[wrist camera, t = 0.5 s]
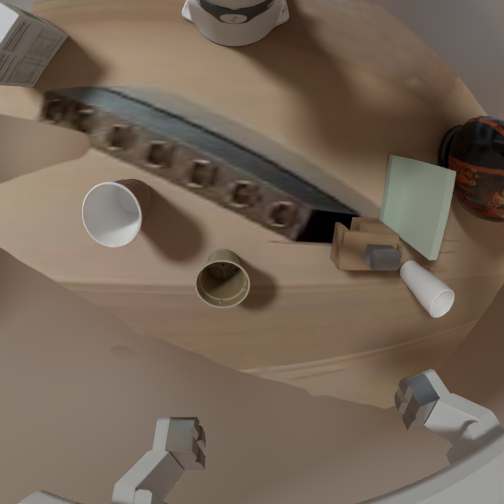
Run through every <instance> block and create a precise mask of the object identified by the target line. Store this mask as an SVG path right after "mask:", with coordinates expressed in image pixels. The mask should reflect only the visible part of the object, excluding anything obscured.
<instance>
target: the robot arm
mask: <svg viewBox="0 0 504 504" xmlns="http://www.w3.org/2000/svg"><path fill="white" fill-rule="evenodd" d="M188 8H189V9H188ZM282 10H283V12H282ZM182 17H183V18H184V19H186V20H187V21H189V22H191V23H193V24H194V25H195V26H196V27H197V28H198V30H199V31H200V32H201V33H202V34H203V35H204V36H205V37H206V38H207V39H209V40H211V41H213V42H215V43H218V44H221V45H226V46H243V45H248V44H251V43H254V42H256V41H258V40H260V39H262V38H263V37H265V36H266V35H267V34H268V33H269V32H270V31H271V30H272V29H273V28H274V27H275V26H278V25H280V24H283V23H285V22H287V21H288V19H289V11H288V6H287V2H286V0H186V2H185V5H184V7H183V10H182ZM399 387H400V388H399V389H398V390H397V391H396V393H395V405H396V408H397V410H398V411H399V412H400V413H402V414H403V417H402V420H403V422H404V424H405V426H406V428H407V430H410V429H413V428H416V427H418V426H421V425H423V424H424V425H425V426H427V427H428V428H429V429H431V430H432V431H434V432H435V433H437V434H438V435H440V436H441V437H443V438H444V439H446V440H447V441H449V442H450V443H452V444H453V446H452V447H451V448H450V450H449V451H448V452H447V455H446V456H447V458H448V460H449V462H450V464H451V465H449V466H447V467H446V468H444V469H442V470H440V471H438V472H436V473H434V474H432V475H429V476H427V477H425V478H423V479H421V480H419V481H417V482H414V483H412V484H410V485H407V486H405V487H402V488H400V489H398V490H395V491H392V492H389V493H387V494H384V495H381V496H378V497H375V498H372V499H369V500H366V501H363V502H360V503H356V504H504V429H503V428H502V426H501V425H500V423H499V421H498V420H497V418H496V417H495V415H494V414H493V412H492V411H491V410H489V409H486V408H484V407H482V406H480V405H477V404H475V403H473V402H471V401H469V400H467V399H464V398H462V397H460V396H458V395H456V394H454V393H452V394H450V393H449V391H448V390H447V388H446V387H445V385H444V384H443V383H442V381H441V380H440V378H439V377H438V375H437V374H436V372H435V371H434V370H433V369H429V370H426V371H424V372H420V373H417V374H415V375H412V376H409V377H407V378H404V379H402V380H400V382H399ZM205 447H206V439H205V433H204V430H203V427H201V426H200V425H199V420H198V418H197V417H159V419H158V421H157V426H156V432H155V438H154V443H153V449H152V450H149V451H148V452H147V453H146V454H145V455H144V456H143V457H142V458H141V459H140V460H139V461H138V462H137V463H136V464H135V465H134V466H133V467H132V468H131V469H130V470H129V471H128V472H127V473H126V474H125V475H124V476H123V477H122V478H121V479H120V480H119V481H118V482H117V483H116V484H115V487H114V492H113V497H112V503H111V504H167V503H165V502H164V501H163V500H164V499H165V497H166V495H168V493H169V492H170V490H171V489H172V488H173V486H174V485H175V484H176V482H177V481H178V480H179V478H180V477H181V475H182V474H183V473H184V470H204V469H205V455H204V453H203V452H202V451H203V449H204V448H205ZM18 504H81V503H78V502H75V501H72V500H69V499H66V498H63V497H60V496H57V495H55V494H52V493H49V492H47V491H43V490H38V491H36V492H34V493H32V494H31V495H30V496H28V497H26V498H25V499H23V500H22V501H21V502H19V503H18Z"/></svg>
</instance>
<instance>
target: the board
mask: <svg viewBox="0 0 504 504" xmlns="http://www.w3.org/2000/svg"><path fill="white" fill-rule="evenodd" d="M455 177H456V171H453V170H450V169H446V168H443V167H440V166H436V165H433V164H429V163H426V162H422V161H418V160H415V159H410V158H406V157H401V156H396V155H391V154H389V160H388V168H387V175H386V182H385V189H384V195H383V201H382V207H381V213H380V218H379V220H380V221H382V222H383V223H384V224H386V225H387V226H389V227H390V228H391V229H393V230H394V231H395V232H397V233H398V234H399V235H400V236H399V237H400V238H402V239H403V240H404V241H406V242H407V243H408V244H409V245H411V246H412V247H413V248H415V249H416V250H417V251H418V252H420V253H421V254H422V255H423V256H425V257H426V258H427V259H428V260H437V257H438V254H439V250H440V246H441V243H442V239H443V235H444V231H445V227H446V223H447V218H448V214H449V209H450V204H451V199H452V194H453V188H454V183H455Z"/></svg>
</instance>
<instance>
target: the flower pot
mask: <svg viewBox="0 0 504 504" xmlns="http://www.w3.org/2000/svg"><path fill="white" fill-rule="evenodd" d="M222 264H224V266H223V265H222ZM234 268H235V269H236V270H235V271H234V272H233V273H231V272H232V271H233V270H234ZM214 270H215V271H216V272H218V273H219V274H216V273H214V272H213V271H214ZM249 289H250V279H249V276H248V274H247V272H246V271H245V269H244V268H243V267H242V266H241V265H240V262H239V259H238V257H237V256H236V255H235V254H234V253H233V252H232V251H229V250H225V249H224V250H217V251H215V252H213V253H212V254H211V255H210V256H209V258H208V261H207V263H206V264H205V265H204V266H203V267H202V268H201V269H200V270H199V271H198V273H197V275H196V278H195V290H196V292H197V294H198V296H199V297H200V298H201V299H202V301H204V302H205V303H207V304H208V305H210V306H213V307H217V308H230V307H234V306H236V305H238V304H239V303H241V302H242V301H243V300H244V299H245V298H246V296H247V295H248V292H249Z"/></svg>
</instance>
